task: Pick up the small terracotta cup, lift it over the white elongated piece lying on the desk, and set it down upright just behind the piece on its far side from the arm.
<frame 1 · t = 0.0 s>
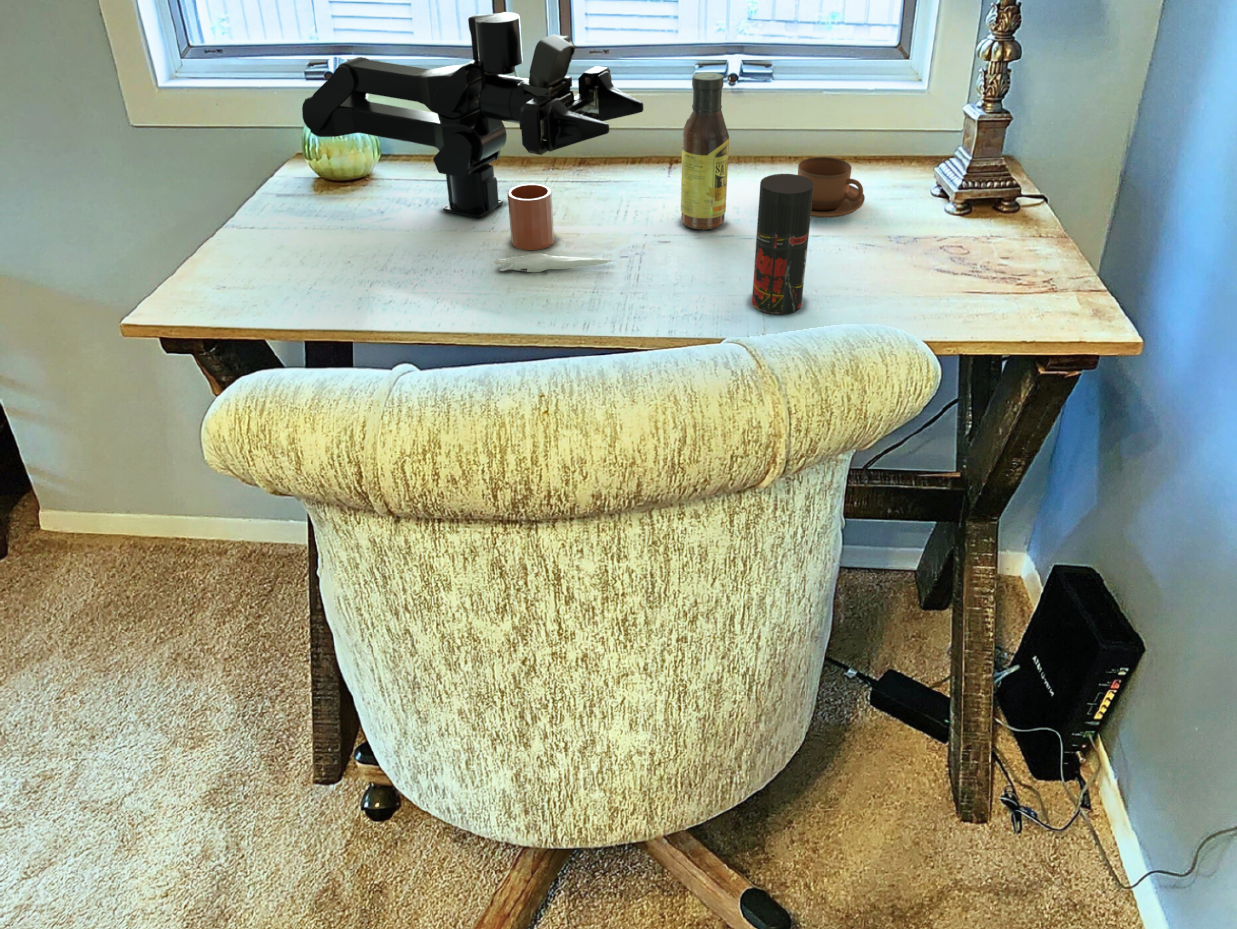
hand: (626, 117, 129), 17 cm above the table, tool horizontal, fingers open, 9 cm apart
cup: (532, 241, 139), on the table
deodorant: (776, 304, 123), on the table
white elongated piece: (554, 270, 132), on the table
cup and saucer: (820, 209, 146), on the table
sauce bottle: (702, 223, 143), on the table
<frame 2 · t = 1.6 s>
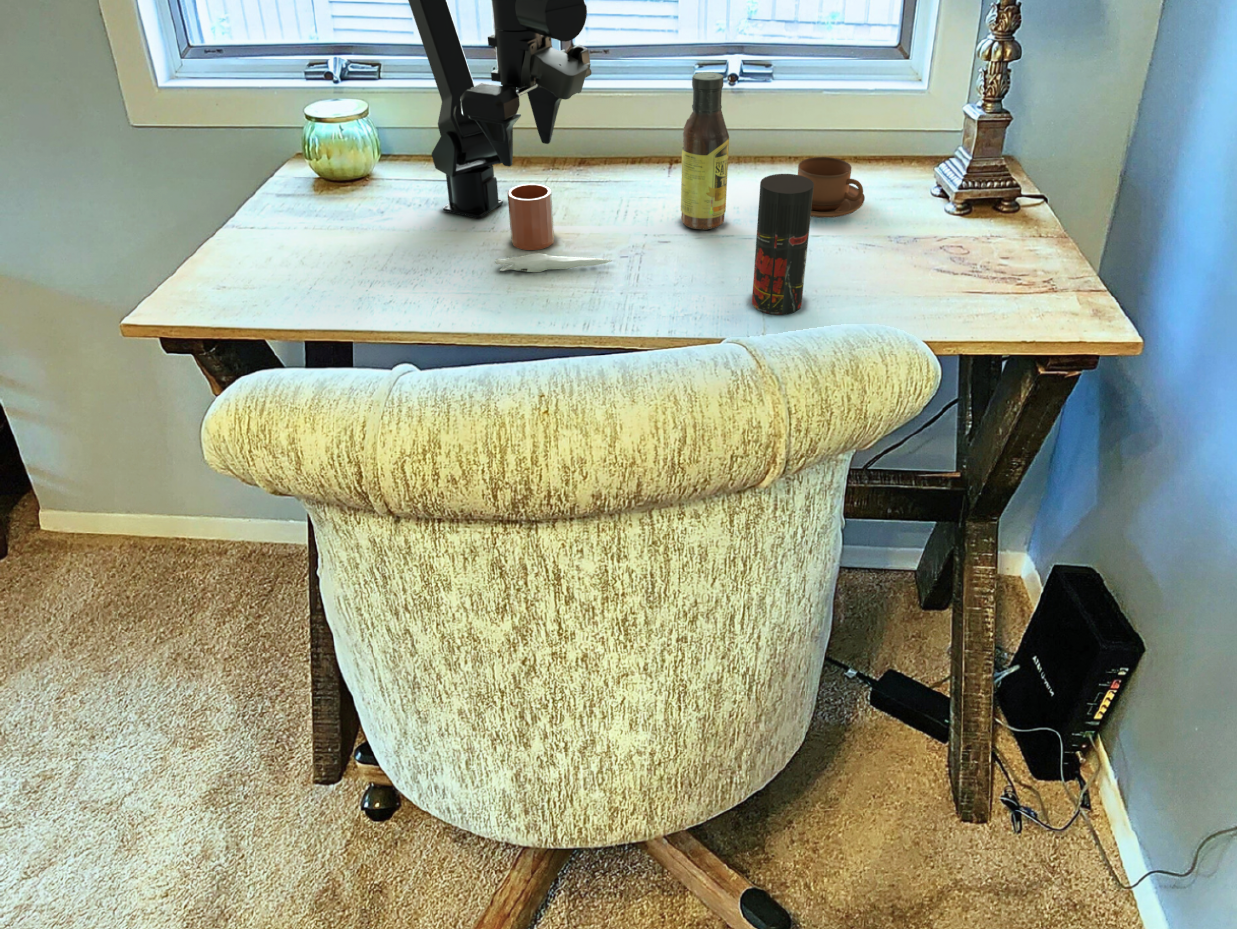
hand: (527, 154, 132), 12 cm above the table, tool pointing down, fingers open, 9 cm apart
nothing on the table moved.
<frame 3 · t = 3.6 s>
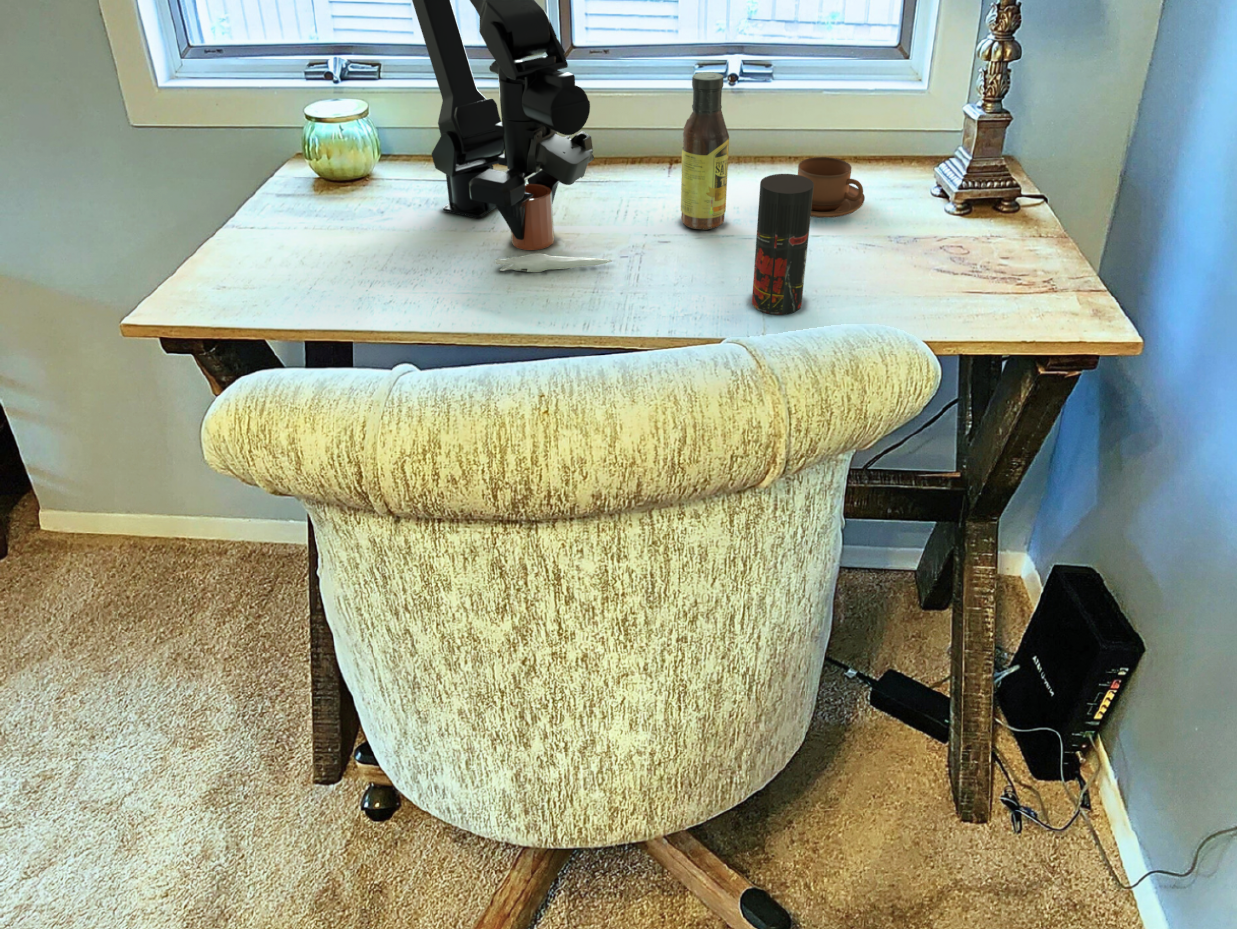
hand: (532, 230, 138), 2 cm above the table, tool pointing down, fingers closed on cup, 6 cm apart
cup: (532, 241, 139), on the table, touching gripper
everything else where it was.
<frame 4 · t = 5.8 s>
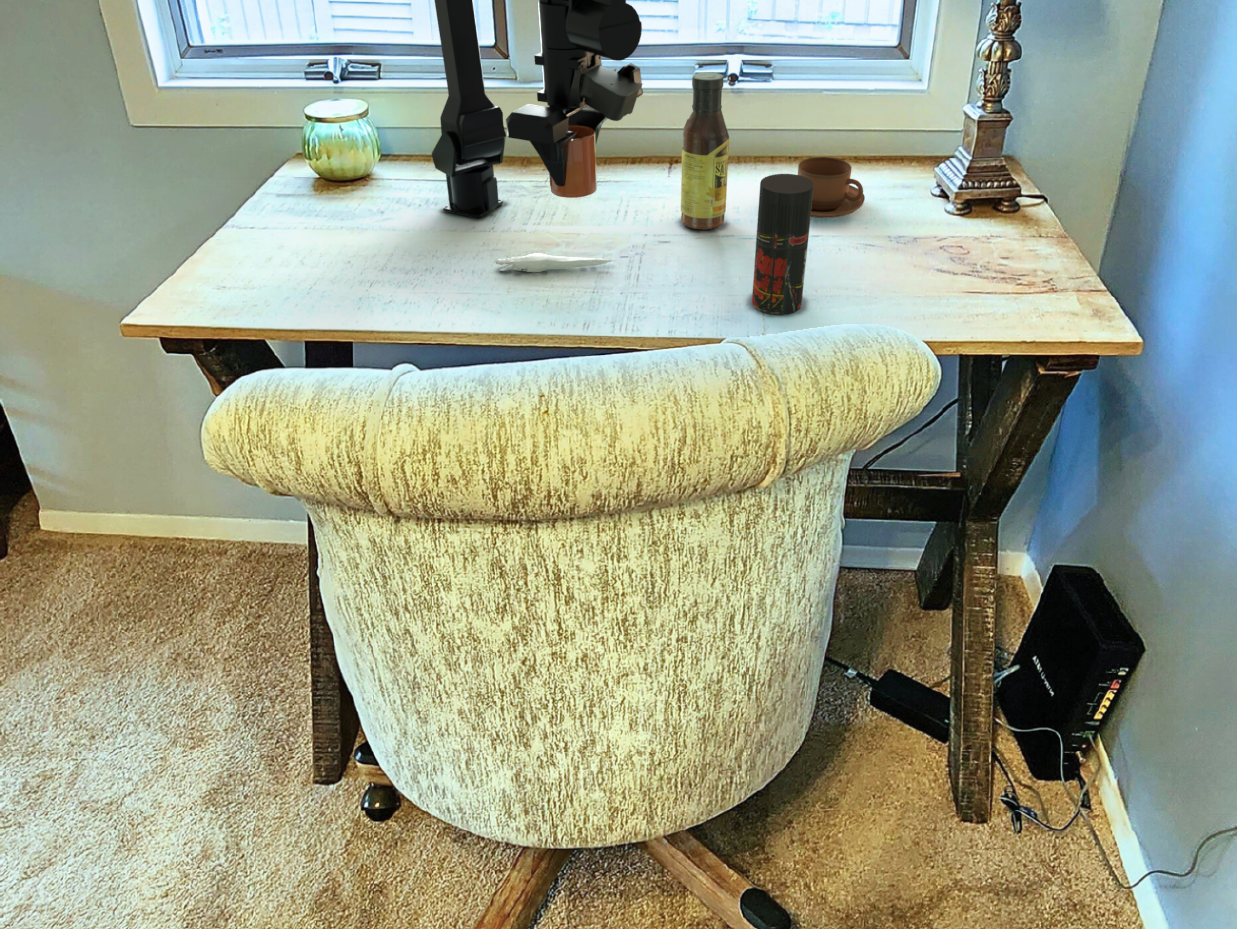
hand: (573, 177, 125), 12 cm above the table, tool pointing down, fingers closed on cup, 6 cm apart
cup: (573, 189, 126), point 10 cm above the table, touching gripper
everything else where it was.
when the fingers open (1 cm above the table, at t = 8.5 s): cup stays where it is, on the table.
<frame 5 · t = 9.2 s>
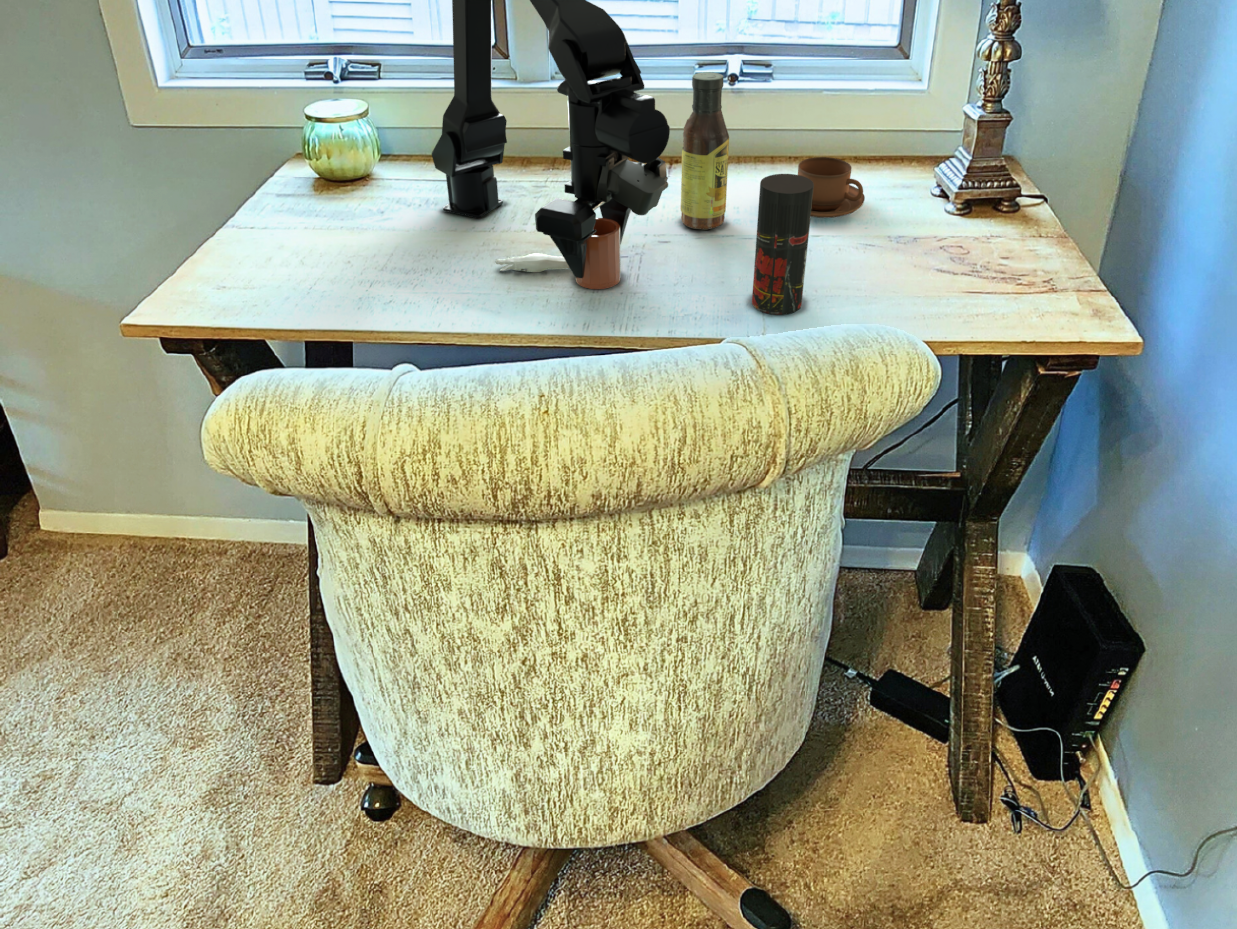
hand: (597, 262, 128), 2 cm above the table, tool pointing down, fingers open, 9 cm apart
cup: (597, 279, 129), on the table
everything else where it was.
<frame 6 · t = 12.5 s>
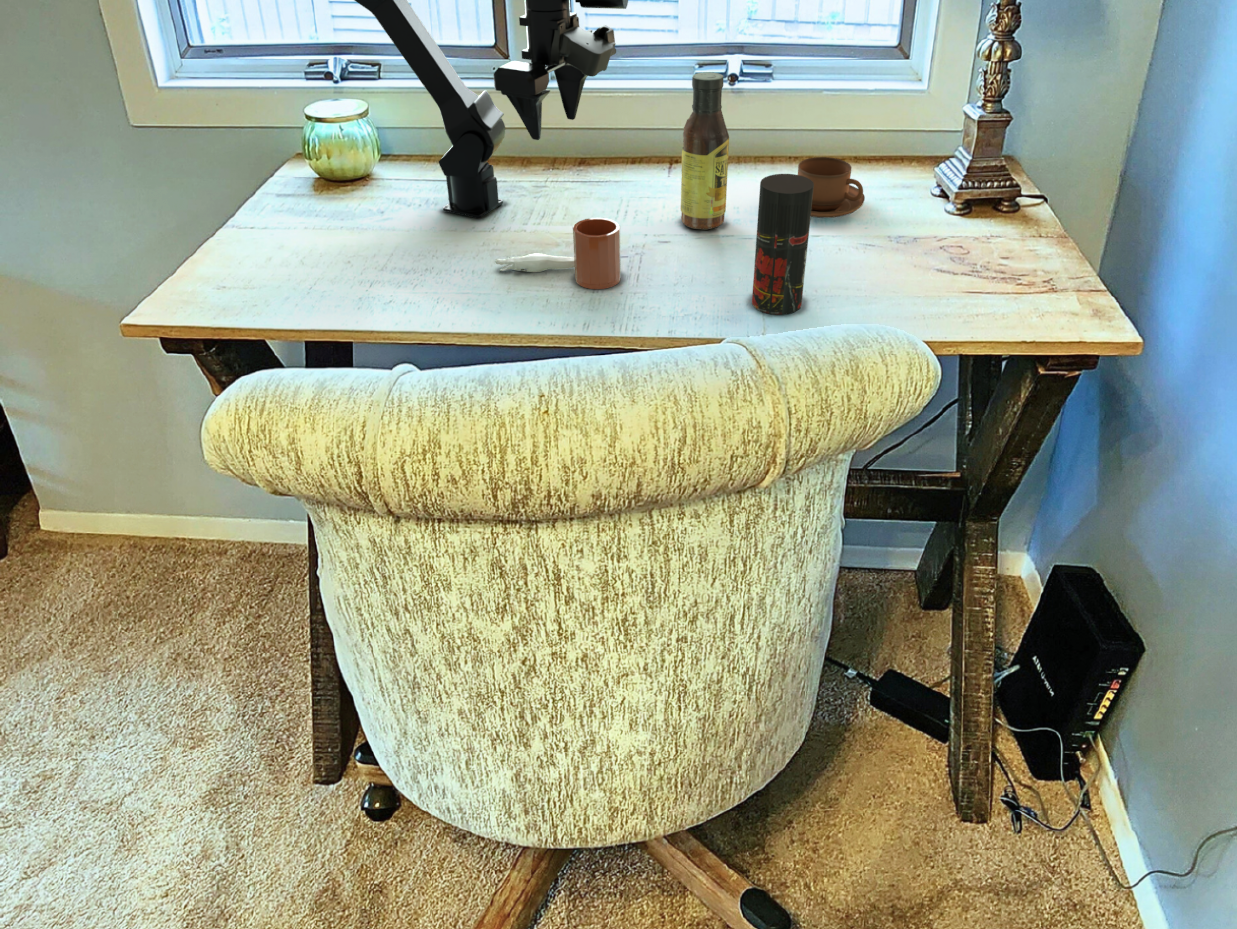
hand: (554, 128, 139), 12 cm above the table, tool pointing down, fingers open, 9 cm apart
nothing on the table moved.
at the end: cup inside the target area on the table beside the white elongated piece (0.5 cm from its centre), on the table; cup tilted 0°; white elongated piece moved 0.2 cm from its start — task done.
